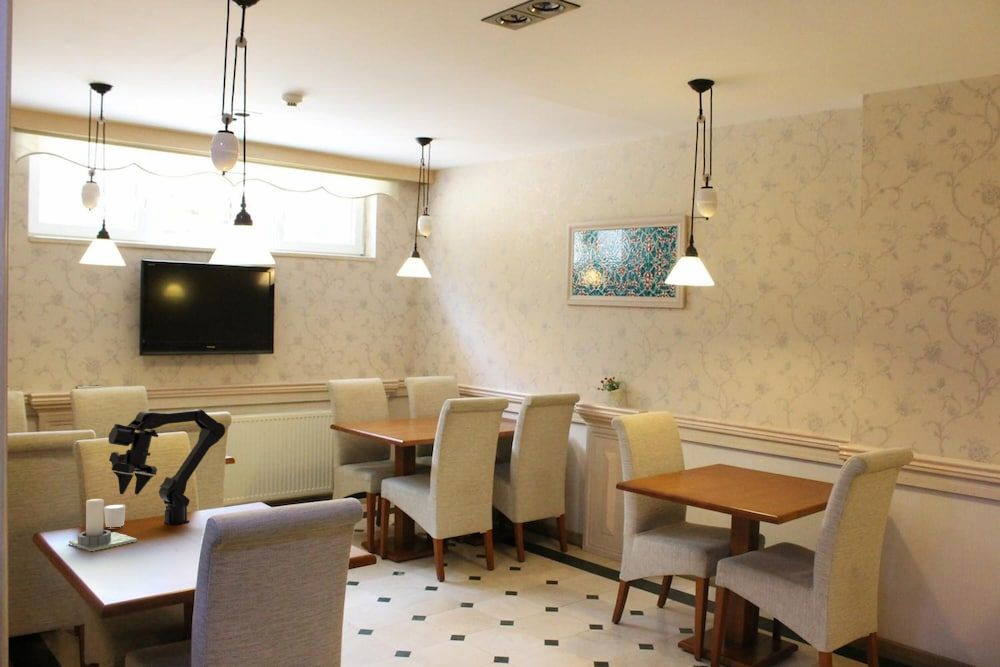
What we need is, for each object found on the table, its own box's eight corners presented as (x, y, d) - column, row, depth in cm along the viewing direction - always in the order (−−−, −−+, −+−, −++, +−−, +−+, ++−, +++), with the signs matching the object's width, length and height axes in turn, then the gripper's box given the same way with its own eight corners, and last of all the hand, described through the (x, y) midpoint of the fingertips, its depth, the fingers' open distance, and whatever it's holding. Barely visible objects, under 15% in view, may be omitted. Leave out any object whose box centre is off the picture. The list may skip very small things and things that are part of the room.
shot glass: (119, 528, 290) (119, 508, 290) (100, 528, 291) (99, 508, 290) (129, 524, 297) (129, 504, 297) (109, 523, 297) (109, 503, 297)
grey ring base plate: (114, 534, 282) (114, 524, 282) (136, 541, 274) (136, 530, 274) (68, 544, 271) (68, 533, 270) (90, 551, 262) (90, 540, 262)
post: (102, 538, 274) (103, 498, 274) (103, 542, 270) (104, 501, 269) (85, 540, 272) (85, 499, 271) (86, 543, 267) (86, 502, 267)
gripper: (133, 446, 300) (122, 490, 297) (102, 442, 282) (91, 489, 279) (162, 451, 298) (151, 496, 295) (133, 448, 280) (121, 495, 277)
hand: (129, 494), depth 287 cm, fingers open, 9 cm apart
